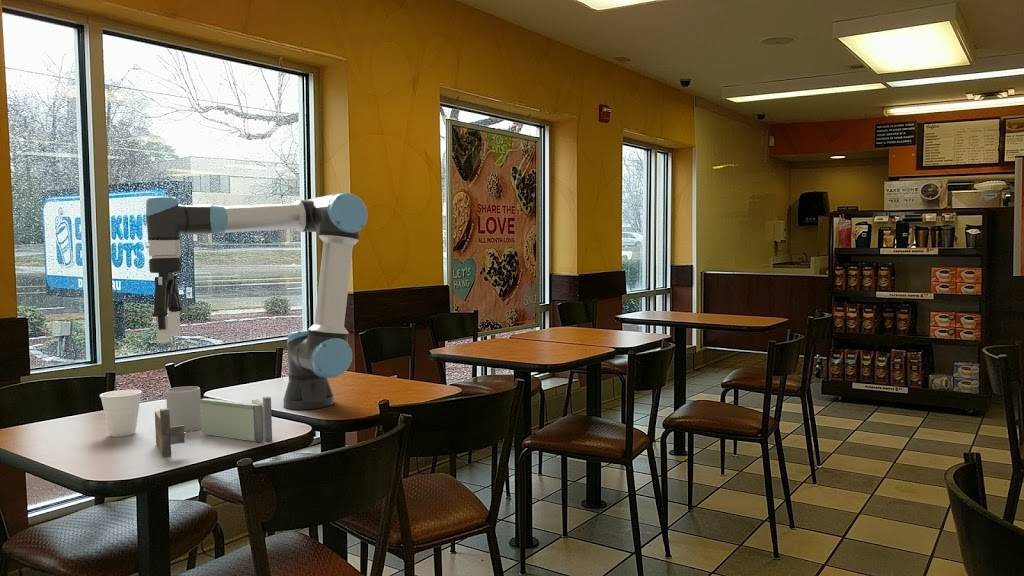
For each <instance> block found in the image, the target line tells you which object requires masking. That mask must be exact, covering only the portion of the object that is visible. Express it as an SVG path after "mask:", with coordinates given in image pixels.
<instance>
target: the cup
mask: <svg viewBox="0 0 1024 576" xmlns="http://www.w3.org/2000/svg"><path fill="white" fill-rule="evenodd" d="M141 394H143V391H142V390H140V389H119V390H112V391H111V390H110V391H107V392H103V393H101V394H99V397H100V399H101V404H102V408H103V412H104V416H105V420H106V425H107V428H108V429H107V430H108V434H109V436H110V437H113V438H115V437H116V438H121V437H123V438H124V437H128V436H132V435H134V434H135V433H136V431H137V425H138V424H137V423H138V415H139V409H140V402H141Z"/></svg>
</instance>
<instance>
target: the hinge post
mask: <svg viewBox="0 0 1024 576" xmlns="http://www.w3.org/2000/svg"><path fill="white" fill-rule="evenodd" d="M251 403H252V404H258V405H262V415H263V442H265V443H270V442H273V420H272V397H271V396H263V397H262V401H260V400H259V399H252V400H251Z"/></svg>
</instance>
